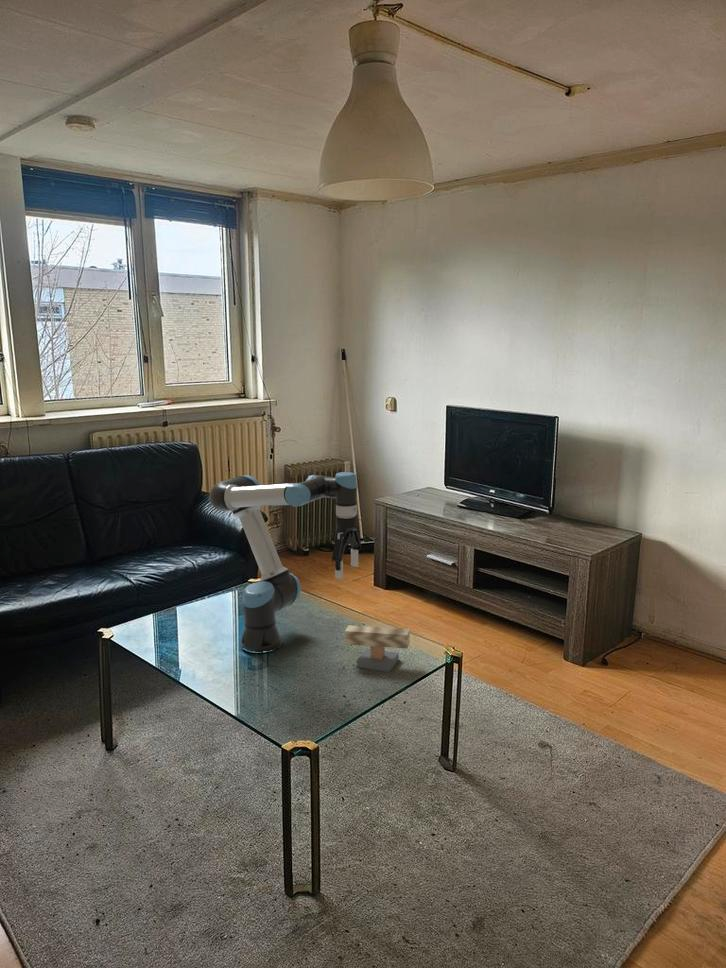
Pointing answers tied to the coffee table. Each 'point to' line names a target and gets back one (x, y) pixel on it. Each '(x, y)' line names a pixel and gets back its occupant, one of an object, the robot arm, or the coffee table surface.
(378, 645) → the beam
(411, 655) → the coffee table surface
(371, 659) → the fulcrum
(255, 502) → the robot arm
